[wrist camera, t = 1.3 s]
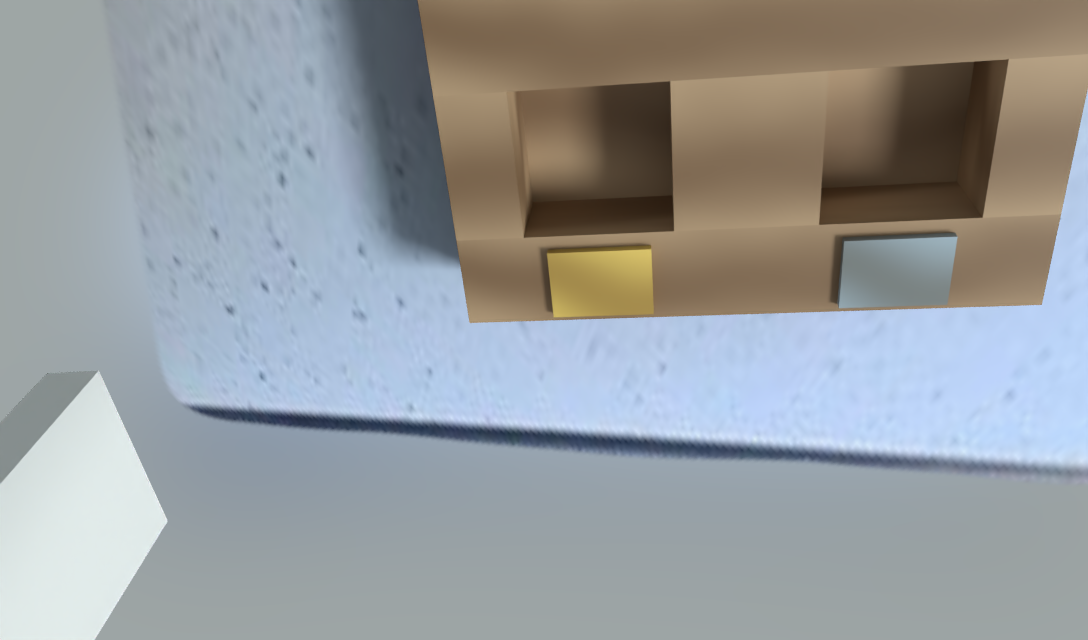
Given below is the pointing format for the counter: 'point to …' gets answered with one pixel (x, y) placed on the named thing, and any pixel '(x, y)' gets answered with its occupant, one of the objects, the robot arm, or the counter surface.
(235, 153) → the counter surface
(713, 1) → the socket block
